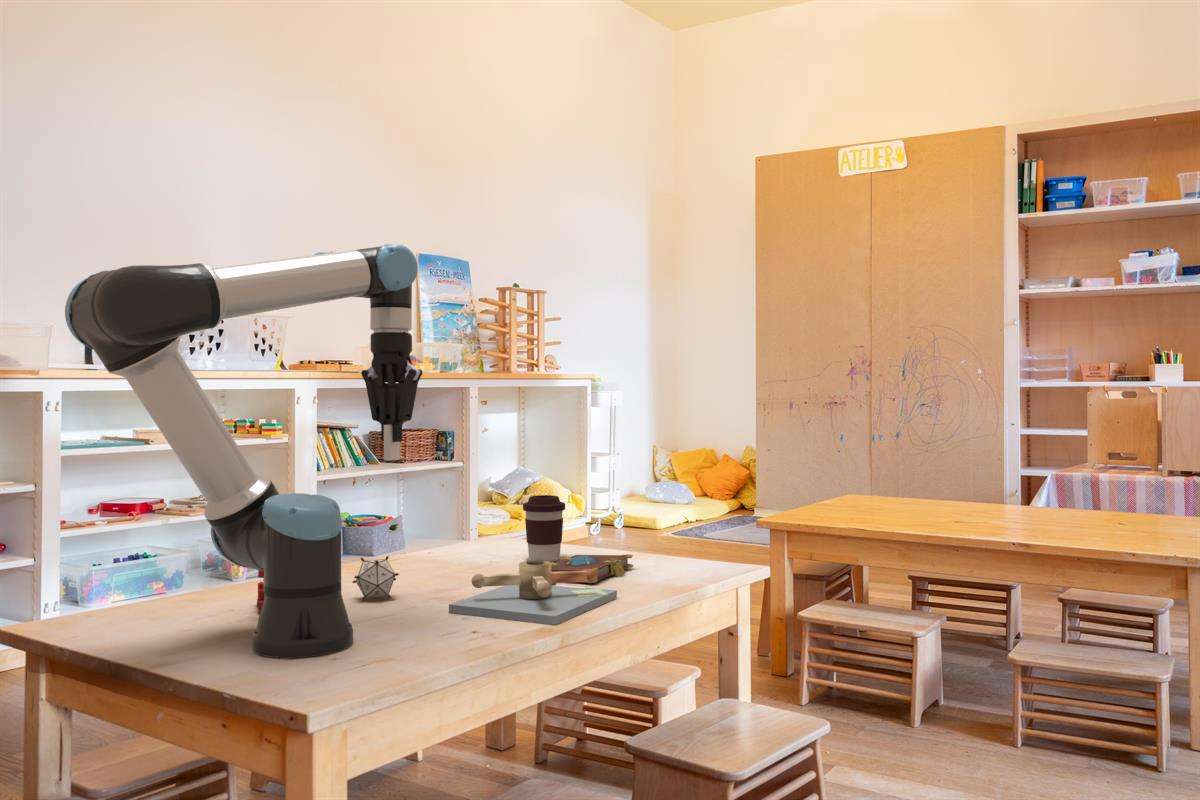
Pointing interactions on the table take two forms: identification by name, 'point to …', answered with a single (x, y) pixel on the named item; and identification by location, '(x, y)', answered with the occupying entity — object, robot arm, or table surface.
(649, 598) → the table surface
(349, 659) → the table surface
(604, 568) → the book
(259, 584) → the toy fire truck
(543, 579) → the capstan
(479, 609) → the plate
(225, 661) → the table surface
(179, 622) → the table surface
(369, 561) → the game die
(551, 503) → the coffee cup
